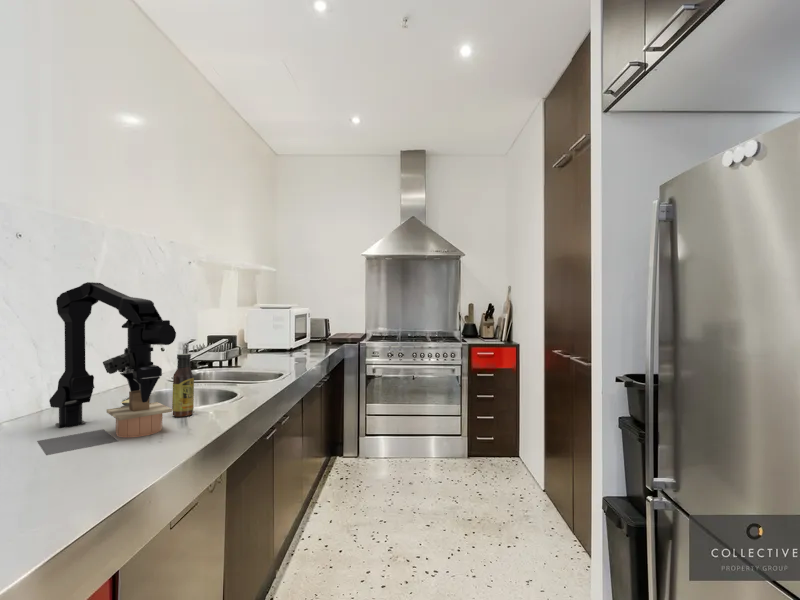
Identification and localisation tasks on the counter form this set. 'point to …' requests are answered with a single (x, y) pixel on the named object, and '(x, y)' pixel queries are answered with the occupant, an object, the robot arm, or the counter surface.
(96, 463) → the counter surface
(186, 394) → the sauce bottle
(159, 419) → the bowl
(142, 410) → the lid
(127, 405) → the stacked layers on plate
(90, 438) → the mat
